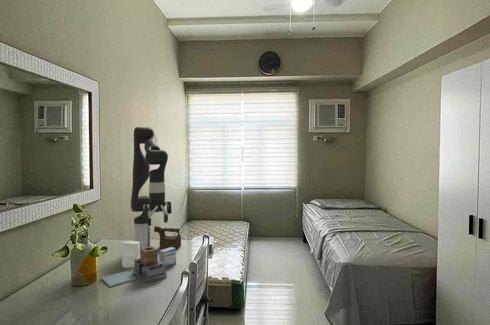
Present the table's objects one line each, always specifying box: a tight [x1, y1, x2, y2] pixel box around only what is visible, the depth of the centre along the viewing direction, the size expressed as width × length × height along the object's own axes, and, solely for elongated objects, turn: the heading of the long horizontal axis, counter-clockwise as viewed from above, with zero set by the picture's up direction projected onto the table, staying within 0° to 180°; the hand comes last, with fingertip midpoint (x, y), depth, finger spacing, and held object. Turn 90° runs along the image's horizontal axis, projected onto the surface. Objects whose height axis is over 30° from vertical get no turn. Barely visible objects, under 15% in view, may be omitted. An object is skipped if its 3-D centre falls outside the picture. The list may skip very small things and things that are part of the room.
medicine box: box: [158, 247, 177, 269], centre depth 168 cm, size 8×4×9 cm, turn 143°
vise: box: [132, 257, 168, 284], centre depth 155 cm, size 16×10×12 cm, turn 41°
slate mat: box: [100, 270, 137, 288], centre depth 150 cm, size 12×12×1 cm
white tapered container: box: [121, 240, 141, 269], centre depth 169 cm, size 9×9×12 cm
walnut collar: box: [140, 245, 159, 265], centre depth 154 cm, size 6×6×7 cm
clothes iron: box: [153, 225, 182, 251], centre depth 198 cm, size 8×16×13 cm, turn 83°
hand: (157, 224), depth 155 cm, fingers open, 8 cm apart
